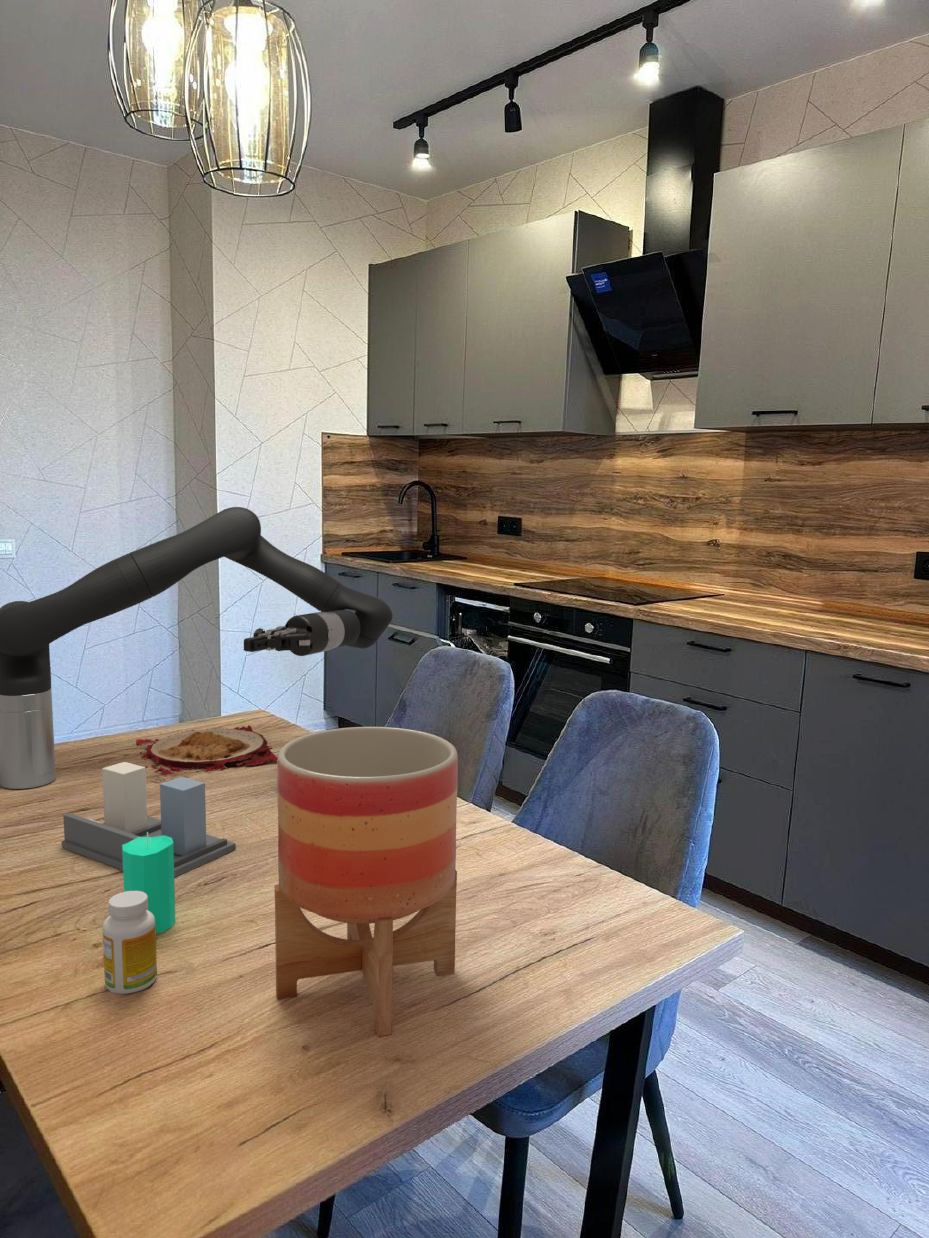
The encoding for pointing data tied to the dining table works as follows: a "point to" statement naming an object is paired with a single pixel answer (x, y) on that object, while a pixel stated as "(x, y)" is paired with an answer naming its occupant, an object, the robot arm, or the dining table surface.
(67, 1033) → the dining table surface
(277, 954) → the planter
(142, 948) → the supplement bottle
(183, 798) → the slate blue key
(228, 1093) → the dining table surface
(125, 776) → the ivory key
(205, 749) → the plate with food
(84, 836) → the tray
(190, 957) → the dining table surface
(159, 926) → the candle
